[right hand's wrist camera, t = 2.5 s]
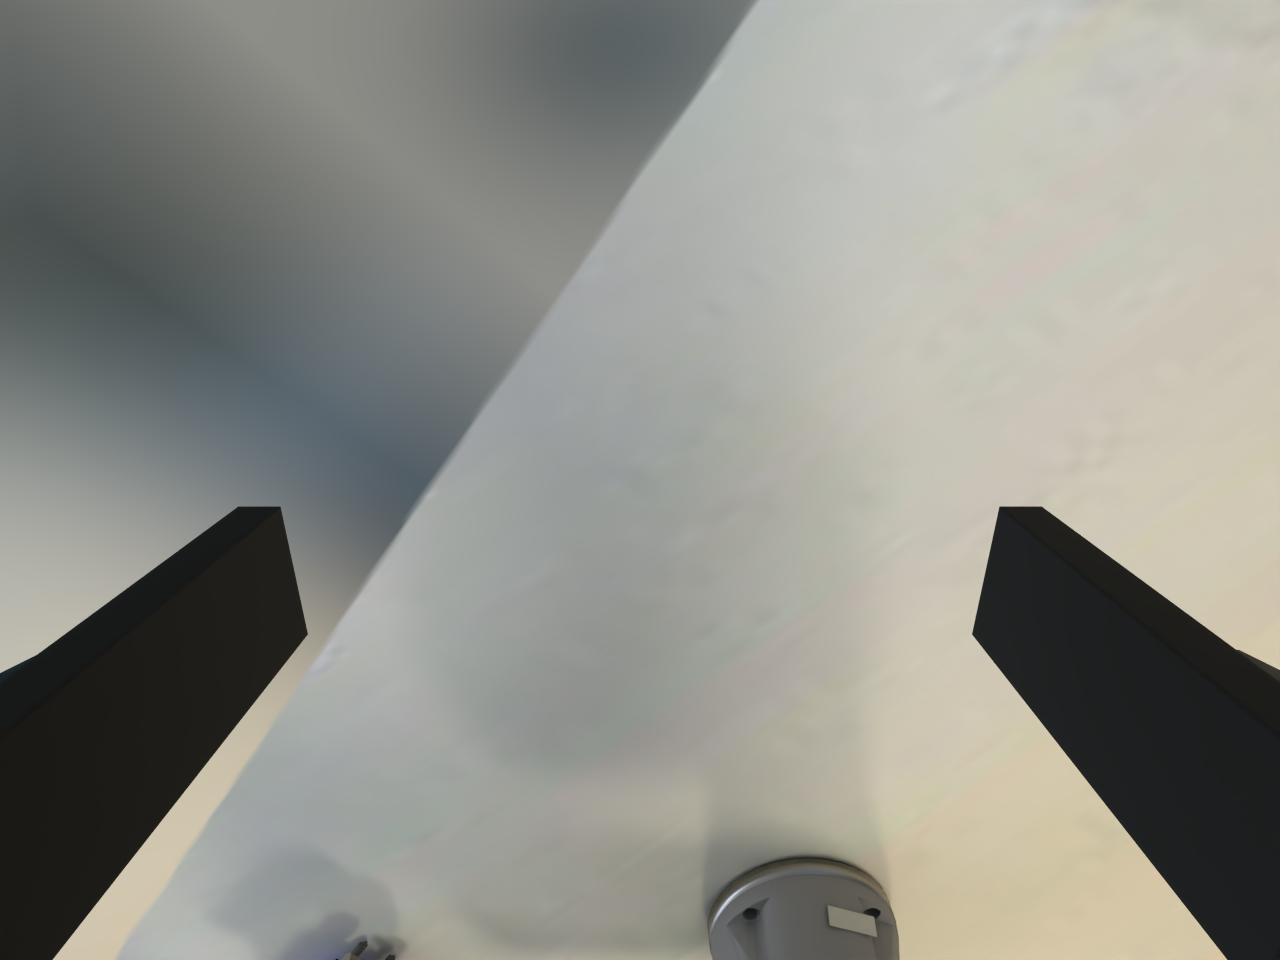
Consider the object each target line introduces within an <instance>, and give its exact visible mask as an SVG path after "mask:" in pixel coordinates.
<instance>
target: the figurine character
mask: <svg viewBox="0 0 1280 960" xmlns="http://www.w3.org/2000/svg"><path fill="white" fill-rule="evenodd" d="M366 947H367V941H365V942H361V943H359V944H358V945H357V947H356V948H355V949H354V950H353V951H352V952H351V953H350V952H348V953H347V954H345V955H344V956H343V957H342V959H341V960H362V959H361V958H359V957H358V956H359V955H360V954H361V953H362V951H363V950H364V949H365V948H366ZM336 960H338V959H336ZM385 960H395V955H389V956H388V957H387V958H386V959H385Z"/></svg>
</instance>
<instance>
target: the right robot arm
mask: <svg viewBox="0 0 1280 960" xmlns="http://www.w3.org/2000/svg"><path fill="white" fill-rule="evenodd" d="M307 635H308V633H307V628H306V624H305V619H304V614H303V610H302V605H301V600H300V596H299V591H298V586H297V582H296V577H295V572H294V568H293V563H292V559H291V554H290V549H289V544H288V540H287V535H286V531H285V526H284V521H283V517H282V512H281V507H237V508H236V509H235V510H233V511H232V512H231V513H229V514H228V515H226V516H225V517H224V518H222V519H221V520H220V521H218V522H217V523H216V524H214V525H213V526H211V527H210V528H209V529H208V530H206V531H205V532H203V533H202V534H201V535H199V536H198V537H197V538H195V539H194V540H192V541H191V542H190V543H188V544H187V545H186V546H184V547H183V548H182V549H180V550H179V551H178V552H176V553H175V554H173V555H172V556H171V557H169V558H168V559H167V560H165V561H164V562H163V563H161V564H160V565H158V566H157V567H156V568H154V569H153V570H152V571H150V572H149V573H148V574H146V575H145V576H144V577H142V578H141V579H139V580H138V581H137V582H135V583H134V584H133V585H131V586H130V587H129V588H127V589H126V590H125V591H123V592H122V593H120V594H119V595H118V596H117V597H115V598H114V599H112V600H111V601H110V602H108V603H107V604H106V605H104V606H103V607H101V608H100V609H99V610H97V611H96V612H95V613H93V614H92V615H91V616H89V617H88V618H87V619H85V620H84V621H83V622H81V623H80V624H78V625H77V626H76V627H74V628H73V629H72V630H70V631H69V632H67V633H66V634H65V635H63V636H62V637H61V638H59V639H58V640H57V641H55V642H54V643H53V644H51V645H50V646H48V647H47V648H46V649H44V650H43V651H42V652H40V653H39V654H38V655H36V656H34V657H32V658H30V659H28V660H26V661H24V662H22V663H20V664H18V665H16V666H14V667H12V668H10V669H8V670H6V671H4V672H2V673H0V960H53V958H54V957H55V956H56V955H57V953H58V952H59V951H60V949H61V948H62V947H63V946H64V944H65V943H66V942H67V941H68V939H69V938H70V937H71V935H72V934H73V933H74V932H75V930H76V929H77V928H78V926H79V925H80V924H81V923H82V921H83V920H84V919H85V918H86V916H87V915H88V914H89V912H90V911H91V910H92V909H93V907H94V906H95V905H96V904H97V902H98V901H99V900H100V898H101V897H102V896H103V895H104V893H105V892H106V891H107V890H108V888H109V887H110V886H111V884H112V883H113V882H114V881H115V879H116V878H117V877H118V876H119V874H120V873H121V872H122V870H123V869H124V868H125V867H126V865H127V864H128V863H129V862H130V860H131V859H132V858H133V856H134V855H135V854H136V853H137V851H138V850H139V849H140V848H141V846H142V845H143V844H144V842H145V841H146V840H147V839H148V837H149V836H150V835H151V833H152V832H153V831H154V830H155V828H156V827H157V826H158V825H159V823H160V822H161V821H162V819H163V818H164V817H165V816H166V814H167V813H168V812H169V810H170V809H171V808H172V807H173V805H174V804H175V803H176V802H177V800H178V799H179V798H180V797H181V795H182V794H183V793H184V791H185V790H186V789H187V788H188V786H189V785H190V784H191V783H192V781H193V780H194V779H195V777H196V776H197V775H198V774H199V772H200V771H201V770H202V768H203V767H204V766H205V765H206V763H207V762H208V761H209V759H210V758H211V757H212V756H213V754H214V753H215V752H216V751H217V749H218V748H219V747H220V746H221V744H222V743H223V742H224V740H225V739H226V738H227V737H228V735H229V734H230V733H231V731H232V730H233V729H234V728H235V726H236V725H237V724H238V723H239V721H240V720H241V719H242V718H243V716H244V715H245V714H246V712H247V711H248V710H249V709H250V707H251V706H252V705H253V703H254V702H255V701H256V700H257V698H258V697H259V696H260V695H261V693H262V692H263V691H264V689H265V688H266V687H267V686H268V684H269V683H270V682H271V681H272V679H273V678H274V677H275V675H276V674H277V673H278V672H279V670H280V669H281V668H282V667H283V665H284V664H285V663H286V661H287V660H288V659H289V658H290V656H291V655H292V654H293V653H294V651H295V650H296V649H297V647H298V646H299V645H300V644H301V642H302V641H303V640H304V639H305V637H306V636H307ZM972 635H973V636H974V637H975V639H976V640H977V641H978V642H979V644H980V645H981V646H982V647H983V649H984V650H985V651H986V653H987V654H988V655H989V656H990V658H991V659H992V660H993V661H994V663H995V664H996V665H997V667H998V668H999V669H1000V670H1001V672H1002V673H1003V674H1004V675H1005V677H1006V678H1007V679H1008V681H1009V682H1010V683H1011V684H1012V686H1013V687H1014V688H1015V689H1016V691H1017V692H1018V693H1019V695H1020V696H1021V697H1022V698H1023V700H1024V701H1025V702H1026V704H1027V705H1028V706H1029V707H1030V709H1031V710H1032V711H1033V712H1034V714H1035V715H1036V716H1037V718H1038V719H1039V720H1040V721H1041V723H1042V724H1043V725H1044V726H1045V728H1046V729H1047V730H1048V732H1049V733H1050V734H1051V735H1052V737H1053V738H1054V739H1055V740H1056V742H1057V743H1058V744H1059V746H1060V747H1061V748H1062V749H1063V751H1064V752H1065V753H1066V754H1067V756H1068V757H1069V758H1070V760H1071V761H1072V762H1073V763H1074V765H1075V766H1076V767H1077V768H1078V770H1079V771H1080V772H1081V774H1082V775H1083V776H1084V777H1085V779H1086V780H1087V781H1088V783H1089V784H1090V785H1091V786H1092V788H1093V789H1094V790H1095V791H1096V793H1097V794H1098V795H1099V797H1100V798H1101V799H1102V800H1103V802H1104V803H1105V804H1106V805H1107V807H1108V808H1109V809H1110V811H1111V812H1112V813H1113V814H1114V816H1115V817H1116V818H1117V819H1118V821H1119V822H1120V823H1121V825H1122V826H1123V827H1124V828H1125V830H1126V831H1127V832H1128V833H1129V835H1130V836H1131V837H1132V839H1133V840H1134V841H1135V842H1136V844H1137V845H1138V846H1139V848H1140V849H1141V850H1142V851H1143V853H1144V854H1145V855H1146V856H1147V858H1148V859H1149V860H1150V862H1151V863H1152V864H1153V865H1154V867H1155V868H1156V869H1157V870H1158V872H1159V873H1160V874H1161V876H1162V877H1163V878H1164V879H1165V881H1166V882H1167V883H1168V884H1169V886H1170V887H1171V888H1172V890H1173V891H1174V892H1175V893H1176V895H1177V896H1178V897H1179V898H1180V900H1181V901H1182V902H1183V904H1184V905H1185V906H1186V907H1187V909H1188V910H1189V911H1190V912H1191V914H1192V915H1193V916H1194V918H1195V919H1196V920H1197V921H1198V923H1199V924H1200V925H1201V927H1202V928H1203V929H1204V930H1205V932H1206V933H1207V934H1208V935H1209V937H1210V938H1211V939H1212V941H1213V942H1214V943H1215V944H1216V946H1217V947H1218V948H1219V949H1220V951H1221V952H1222V953H1223V955H1224V956H1225V957H1226V958H1227V960H1280V670H1278V669H1276V668H1274V667H1272V666H1270V665H1268V664H1266V663H1264V662H1262V661H1260V660H1258V659H1256V658H1254V657H1252V656H1250V655H1248V654H1246V653H1244V652H1242V651H1240V650H1236V649H1234V648H1233V647H1232V646H1230V645H1229V644H1227V643H1226V642H1225V641H1223V640H1222V639H1221V638H1219V637H1218V636H1217V635H1215V634H1214V633H1213V632H1211V631H1210V630H1208V629H1207V628H1206V627H1204V626H1203V625H1202V624H1200V623H1199V622H1198V621H1196V620H1195V619H1193V618H1192V617H1191V616H1189V615H1188V614H1187V613H1185V612H1184V611H1183V610H1181V609H1180V608H1179V607H1177V606H1176V605H1174V604H1173V603H1172V602H1170V601H1169V600H1168V599H1166V598H1165V597H1164V596H1162V595H1161V594H1160V593H1158V592H1157V591H1155V590H1154V589H1153V588H1151V587H1150V586H1149V585H1147V584H1146V583H1145V582H1143V581H1142V580H1141V579H1139V578H1138V577H1136V576H1135V575H1134V574H1132V573H1131V572H1130V571H1128V570H1127V569H1126V568H1124V567H1123V566H1122V565H1120V564H1119V563H1117V562H1116V561H1115V560H1113V559H1112V558H1111V557H1109V556H1108V555H1107V554H1105V553H1104V552H1102V551H1101V550H1100V549H1098V548H1097V547H1096V546H1094V545H1093V544H1092V543H1090V542H1089V541H1088V540H1086V539H1085V538H1083V537H1082V536H1081V535H1079V534H1078V533H1077V532H1075V531H1074V530H1073V529H1071V528H1070V527H1069V526H1067V525H1066V524H1064V523H1063V522H1062V521H1060V520H1059V519H1058V518H1056V517H1055V516H1054V515H1052V514H1051V513H1050V512H1048V511H1047V510H1045V509H1044V508H1043V507H999V512H998V517H997V521H996V526H995V531H994V535H993V540H992V544H991V549H990V554H989V558H988V563H987V568H986V572H985V577H984V582H983V586H982V591H981V596H980V600H979V605H978V610H977V614H976V619H975V624H974V628H973V633H972ZM708 932H709V943H710V950H711V954H712V958H713V960H899V937H898V931H897V926H896V921H895V918H894V915H893V912H892V909H891V906H890V903H889V901H888V898H887V896H886V894H885V893H884V891H883V890H882V888H881V887H880V886H879V885H878V884H877V883H876V882H875V881H874V880H873V879H872V878H871V877H869V876H868V875H867V874H865V873H863V872H862V871H860V870H858V869H856V868H854V867H851V866H849V865H846V864H843V863H839V862H835V861H830V860H824V859H809V858H806V859H791V860H785V861H779V862H775V863H771V864H768V865H765V866H762V867H759V868H757V869H755V870H752V871H750V872H749V873H747V874H745V875H743V876H741V877H740V878H738V879H737V880H736V881H734V882H733V883H732V884H730V885H729V886H728V887H727V888H726V889H725V890H724V891H723V892H722V893H721V895H720V896H719V897H718V899H717V900H716V902H715V904H714V905H713V908H712V910H711V913H710V916H709V922H708Z"/></svg>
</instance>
